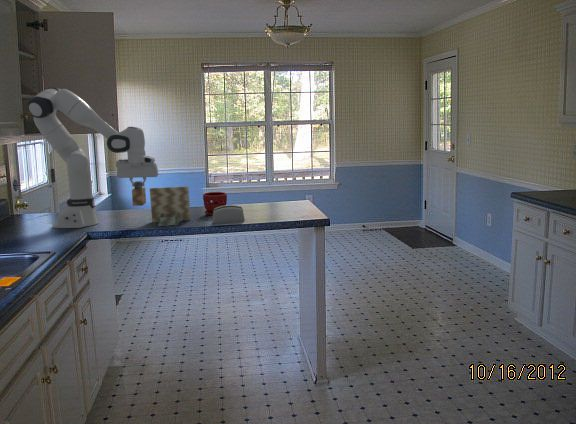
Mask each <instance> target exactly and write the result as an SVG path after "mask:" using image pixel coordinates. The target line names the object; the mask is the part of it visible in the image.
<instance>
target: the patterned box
mask: <svg viewBox="0 0 576 424" xmlns="http://www.w3.org/2000/svg"><path fill="white" fill-rule="evenodd" d="M189 188H190V187H189V186H187V185H186V186H169V187H168V186H166V187H164V186H163V187H149V196H150V197H149V198H150V199H149V200H150V208H151V211H150V212H151V221H152V223H158V227H159V226H164V227H167V226H166V225H178V226H179V225H180V223H181V222H182V221H181V220H186V221H191V220H192V219H191V218H192V217H191V208H190V207H191V206H190V205H191V204H190V189H189ZM179 222H180V223H179Z"/></svg>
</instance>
